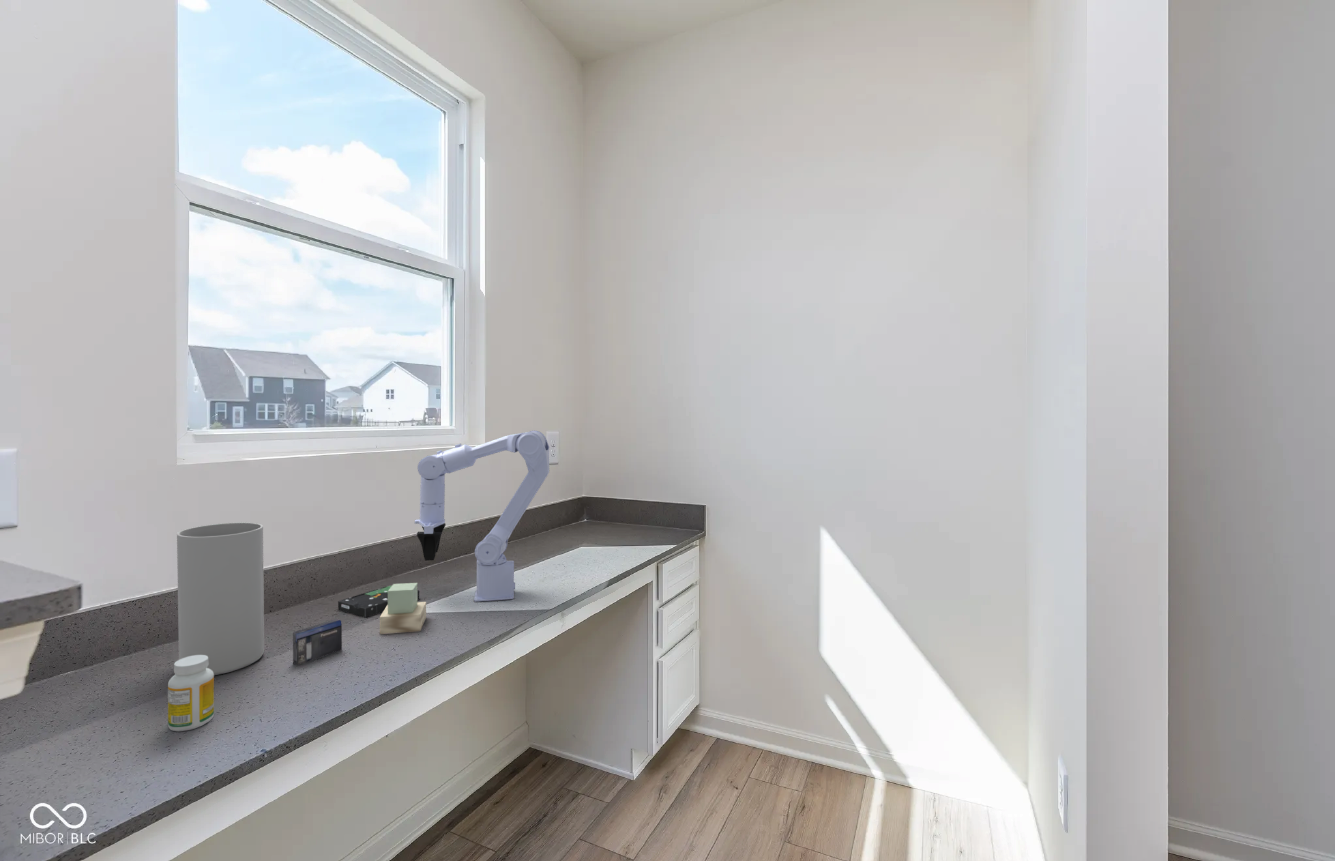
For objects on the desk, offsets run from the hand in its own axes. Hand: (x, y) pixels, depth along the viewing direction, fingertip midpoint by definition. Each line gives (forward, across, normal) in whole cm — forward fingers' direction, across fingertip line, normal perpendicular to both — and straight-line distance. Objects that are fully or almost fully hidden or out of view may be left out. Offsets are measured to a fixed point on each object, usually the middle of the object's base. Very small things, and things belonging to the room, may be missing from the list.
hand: (431, 556), depth 144 cm
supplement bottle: (+11, +52, -28) cm, 60 cm away
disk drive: (+11, +3, -11) cm, 16 cm away
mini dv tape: (+11, +32, -17) cm, 37 cm away
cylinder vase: (+11, +30, -33) cm, 46 cm away
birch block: (+11, +19, -3) cm, 22 cm away
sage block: (+7, +19, -4) cm, 20 cm away
